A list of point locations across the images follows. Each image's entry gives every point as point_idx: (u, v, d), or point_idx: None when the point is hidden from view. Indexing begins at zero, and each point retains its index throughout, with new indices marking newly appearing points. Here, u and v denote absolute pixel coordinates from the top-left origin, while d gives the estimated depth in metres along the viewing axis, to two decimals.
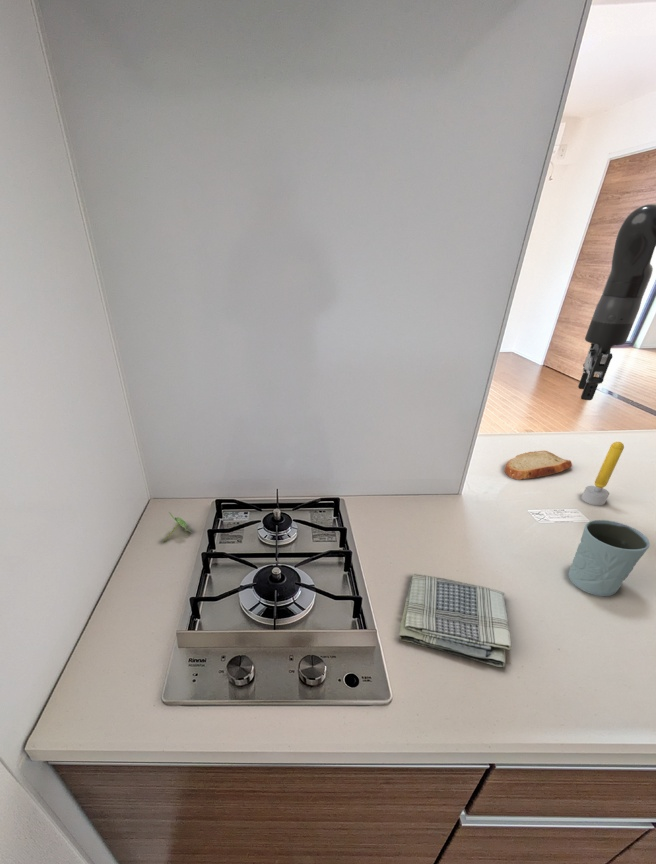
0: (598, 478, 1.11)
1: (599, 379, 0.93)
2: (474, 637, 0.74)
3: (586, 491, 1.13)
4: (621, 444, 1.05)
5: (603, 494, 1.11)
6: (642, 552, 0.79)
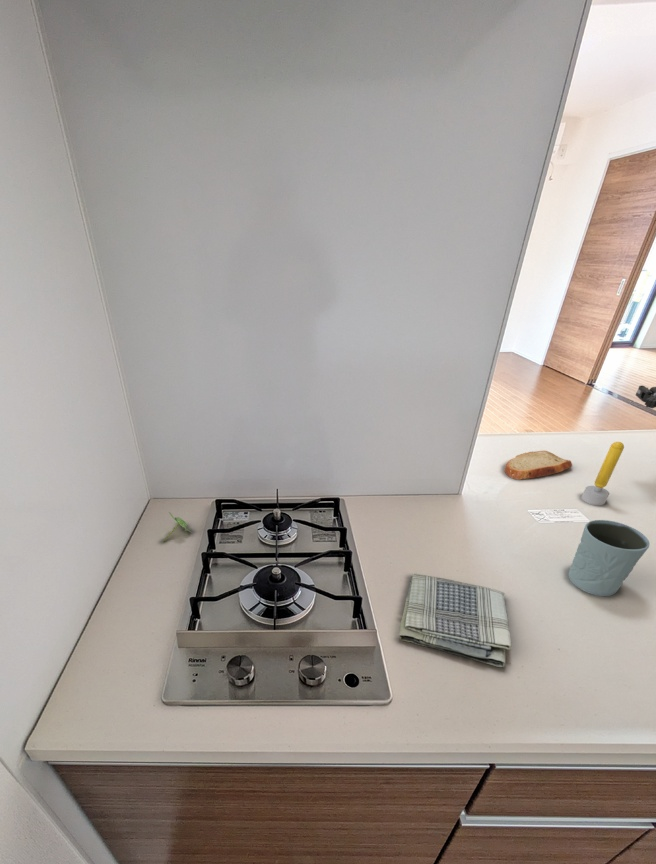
0: (598, 478, 1.11)
1: None
2: (474, 637, 0.74)
3: (586, 491, 1.13)
4: (621, 444, 1.05)
5: (603, 494, 1.11)
6: (642, 552, 0.79)
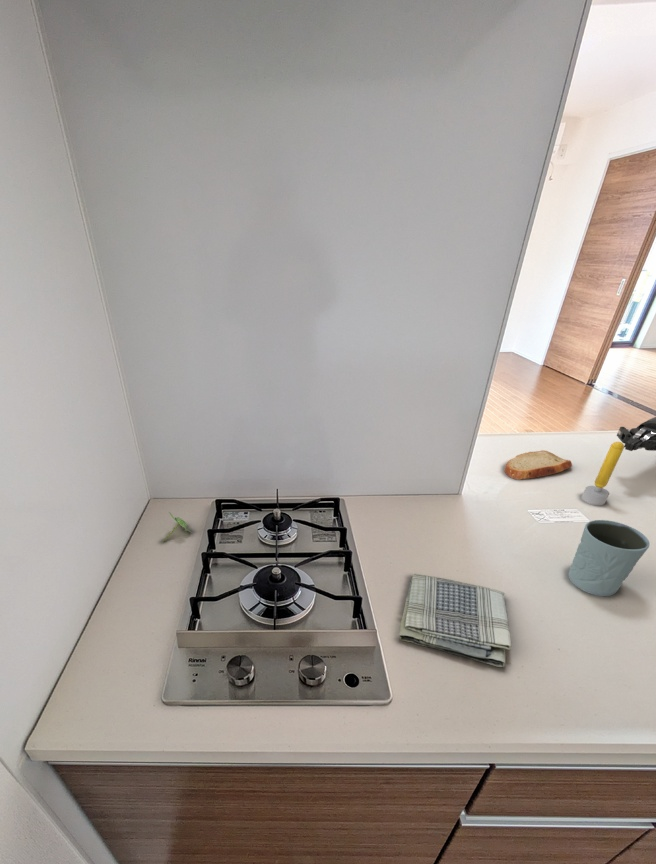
0: (598, 478, 1.11)
1: None
2: (474, 637, 0.74)
3: (586, 491, 1.13)
4: (621, 444, 1.05)
5: (603, 494, 1.11)
6: (642, 552, 0.79)
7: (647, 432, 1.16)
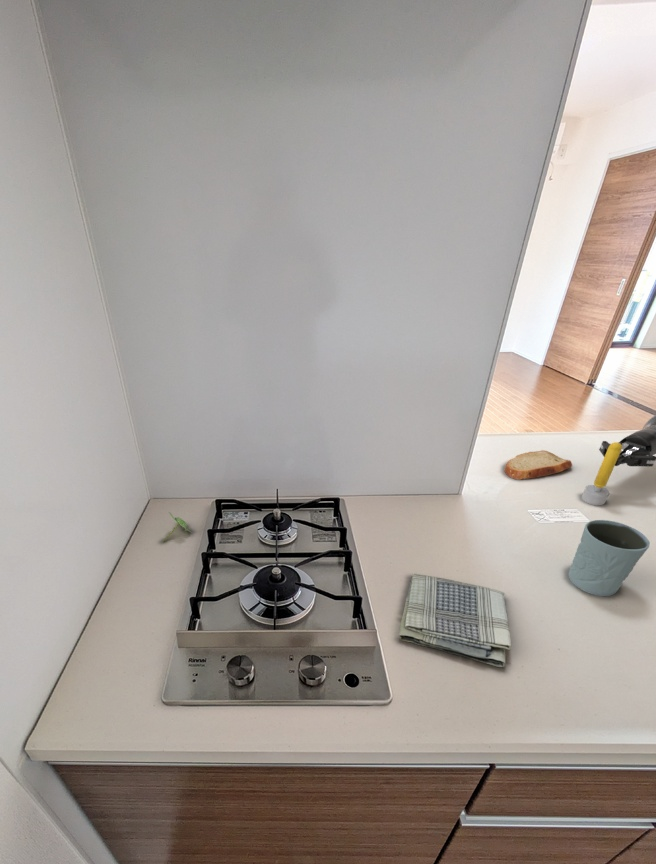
0: (597, 478, 1.10)
1: None
2: (474, 637, 0.74)
3: (586, 491, 1.13)
4: (619, 445, 1.04)
5: (603, 494, 1.11)
6: (642, 552, 0.79)
7: (630, 447, 1.13)
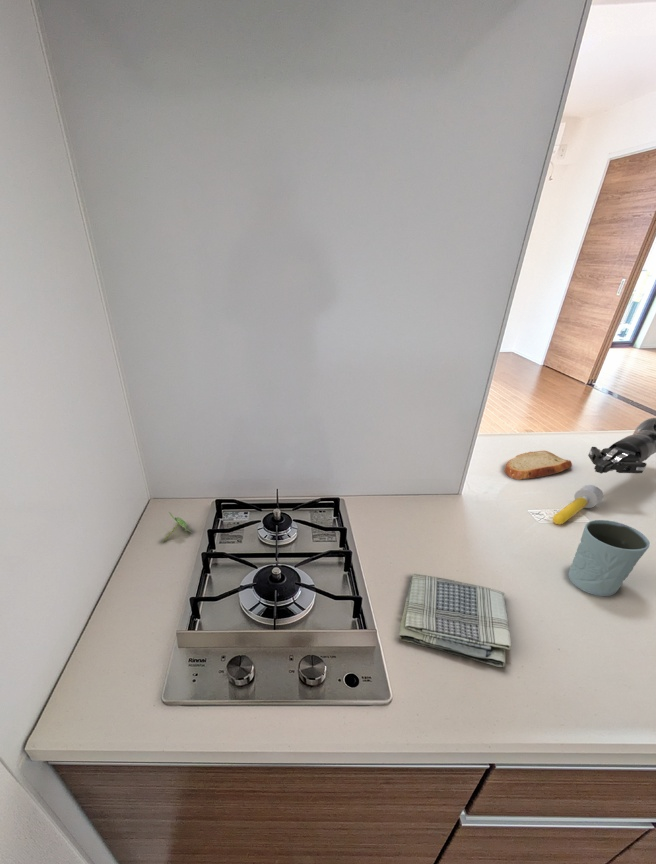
0: None
1: None
2: (474, 637, 0.74)
3: None
4: (559, 523, 1.04)
5: (592, 504, 1.09)
6: (642, 552, 0.79)
7: (619, 453, 1.10)
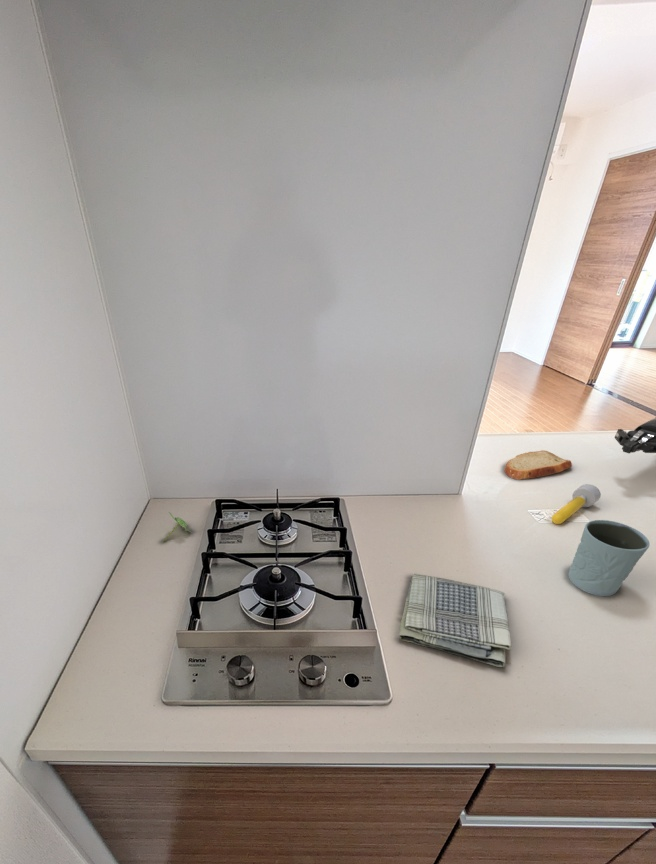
0: None
1: None
2: (474, 637, 0.74)
3: None
4: (558, 522, 1.05)
5: (591, 502, 1.09)
6: (642, 552, 0.79)
7: (645, 434, 1.16)
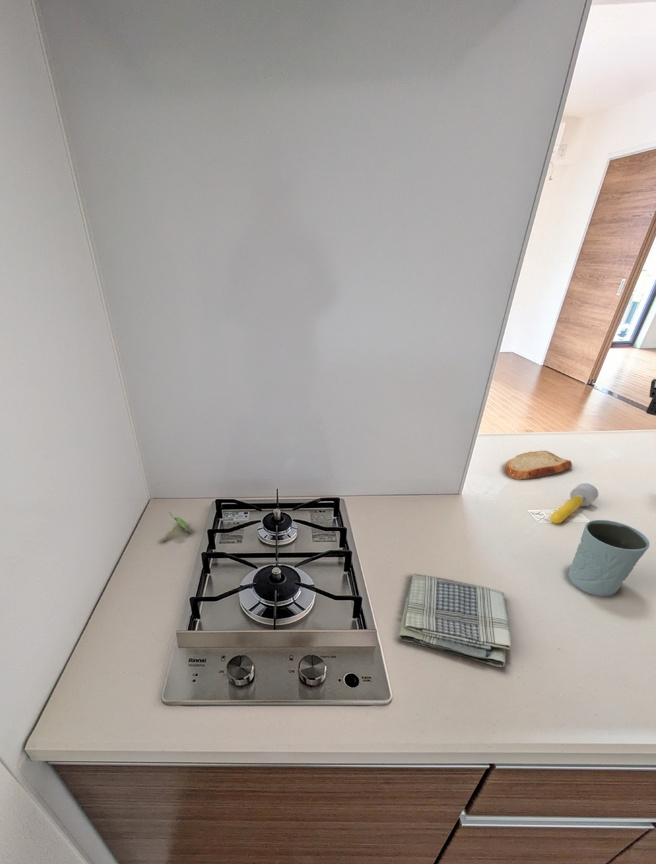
0: None
1: None
2: (474, 637, 0.74)
3: None
4: (557, 521, 1.05)
5: (589, 500, 1.10)
6: (642, 552, 0.79)
7: None
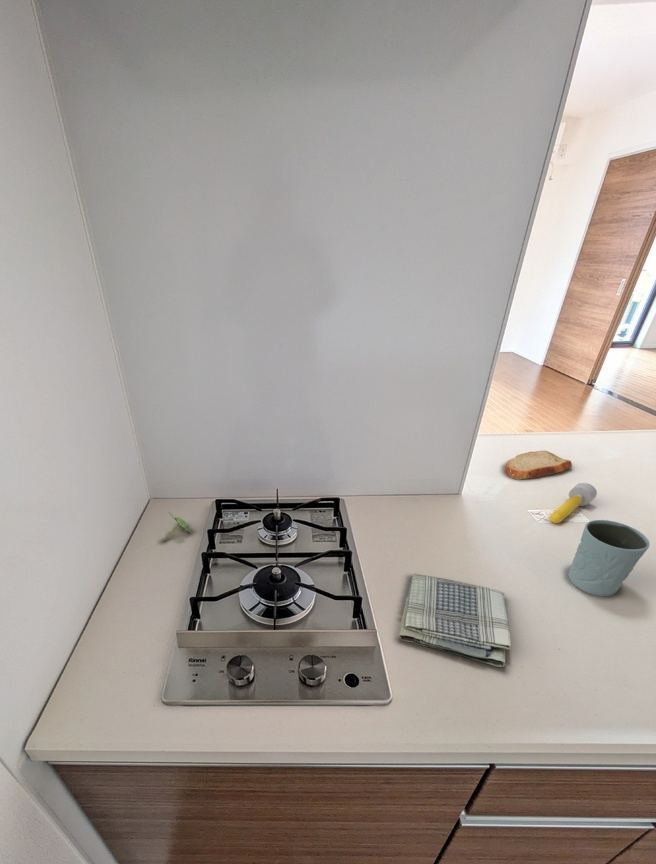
0: None
1: None
2: (474, 637, 0.74)
3: None
4: (557, 520, 1.05)
5: (588, 499, 1.10)
6: (642, 552, 0.79)
7: None
